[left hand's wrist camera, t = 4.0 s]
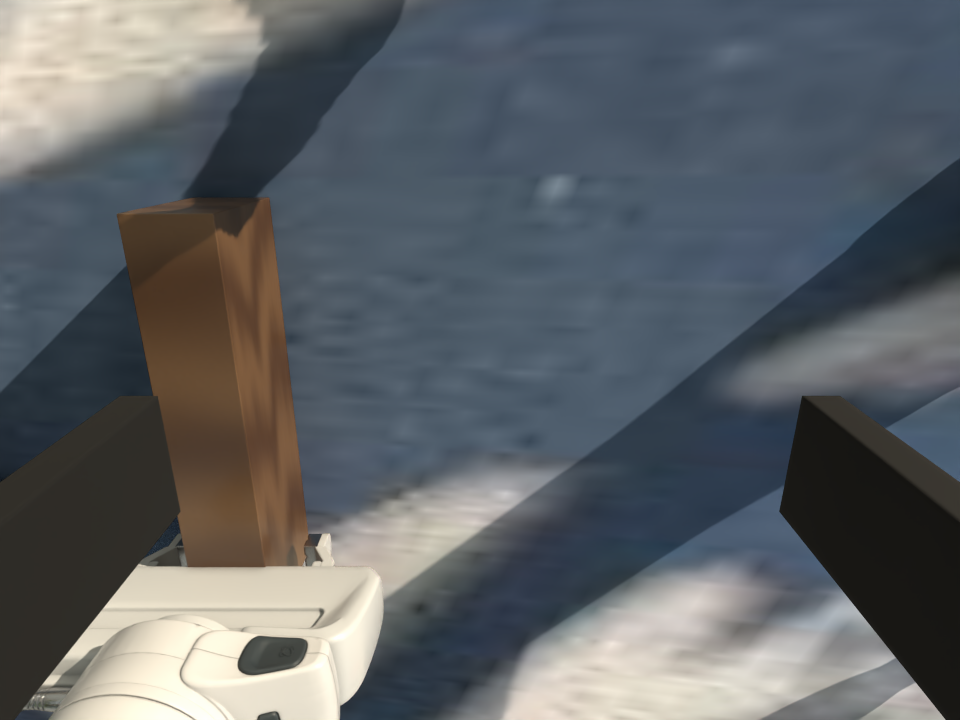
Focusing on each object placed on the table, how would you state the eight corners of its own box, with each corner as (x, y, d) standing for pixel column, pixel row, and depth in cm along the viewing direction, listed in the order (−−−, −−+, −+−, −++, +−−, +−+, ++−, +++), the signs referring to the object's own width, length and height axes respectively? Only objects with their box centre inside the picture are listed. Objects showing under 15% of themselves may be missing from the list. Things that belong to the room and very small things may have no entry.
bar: (192, 197, 40) (116, 213, 31) (269, 197, 40) (213, 213, 31) (247, 547, 49) (200, 632, 41) (309, 547, 49) (274, 632, 41)
